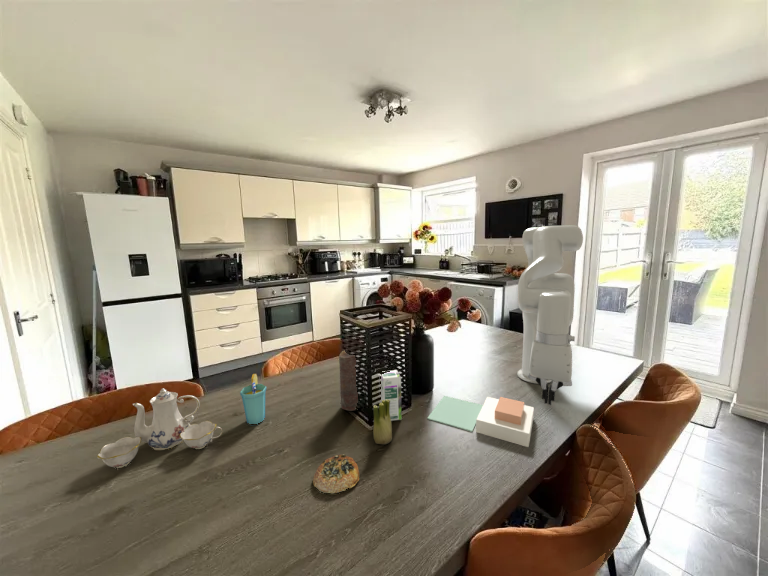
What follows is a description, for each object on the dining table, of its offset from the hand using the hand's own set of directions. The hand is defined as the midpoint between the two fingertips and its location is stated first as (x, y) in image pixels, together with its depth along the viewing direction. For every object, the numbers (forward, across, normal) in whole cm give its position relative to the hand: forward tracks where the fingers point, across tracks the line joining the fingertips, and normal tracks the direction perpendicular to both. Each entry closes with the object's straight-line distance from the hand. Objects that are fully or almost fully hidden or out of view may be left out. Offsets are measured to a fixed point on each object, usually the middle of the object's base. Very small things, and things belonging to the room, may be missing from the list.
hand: (548, 402), depth 85 cm
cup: (+12, +80, +34) cm, 88 cm away
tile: (+7, +10, -1) cm, 12 cm away
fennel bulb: (+11, +40, +23) cm, 47 cm away
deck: (+11, +11, -1) cm, 15 cm away
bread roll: (+12, +43, +40) cm, 60 cm away
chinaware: (+12, +92, +54) cm, 107 cm away
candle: (+11, +58, +13) cm, 60 cm away
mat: (+11, +26, -1) cm, 28 cm away
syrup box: (+11, +44, +11) cm, 47 cm away
